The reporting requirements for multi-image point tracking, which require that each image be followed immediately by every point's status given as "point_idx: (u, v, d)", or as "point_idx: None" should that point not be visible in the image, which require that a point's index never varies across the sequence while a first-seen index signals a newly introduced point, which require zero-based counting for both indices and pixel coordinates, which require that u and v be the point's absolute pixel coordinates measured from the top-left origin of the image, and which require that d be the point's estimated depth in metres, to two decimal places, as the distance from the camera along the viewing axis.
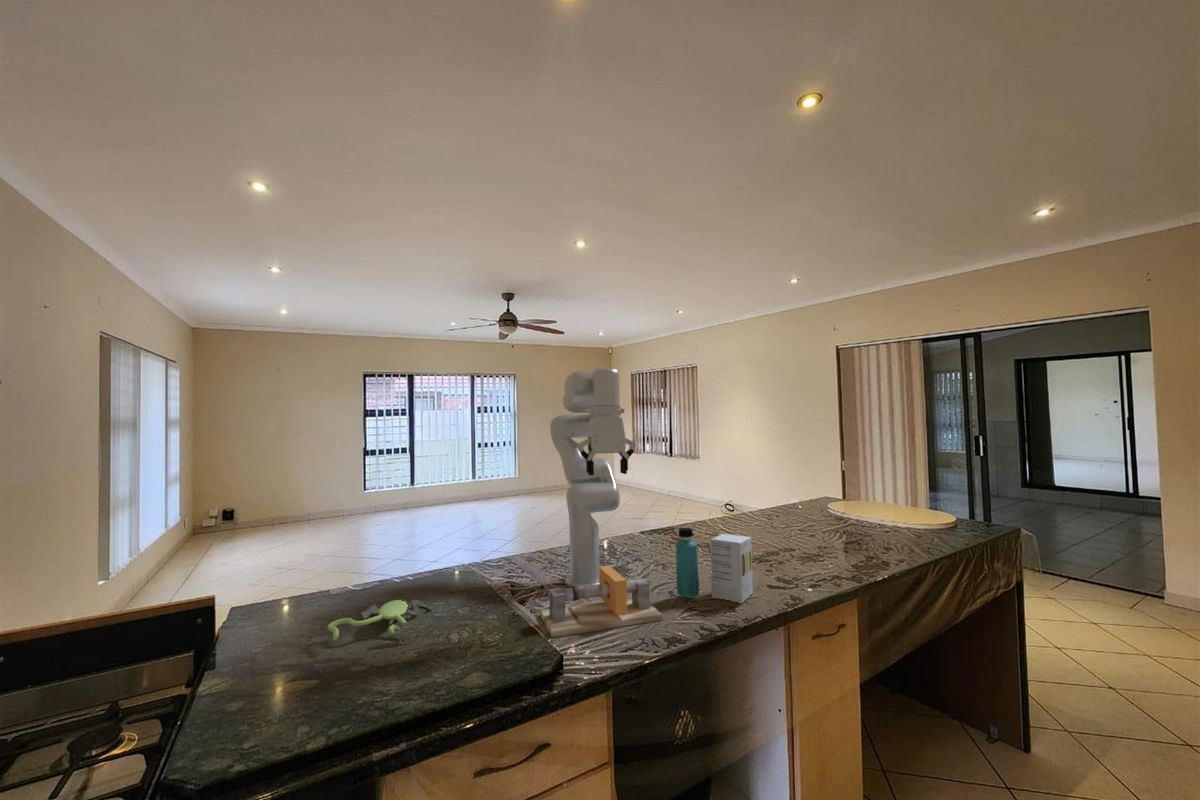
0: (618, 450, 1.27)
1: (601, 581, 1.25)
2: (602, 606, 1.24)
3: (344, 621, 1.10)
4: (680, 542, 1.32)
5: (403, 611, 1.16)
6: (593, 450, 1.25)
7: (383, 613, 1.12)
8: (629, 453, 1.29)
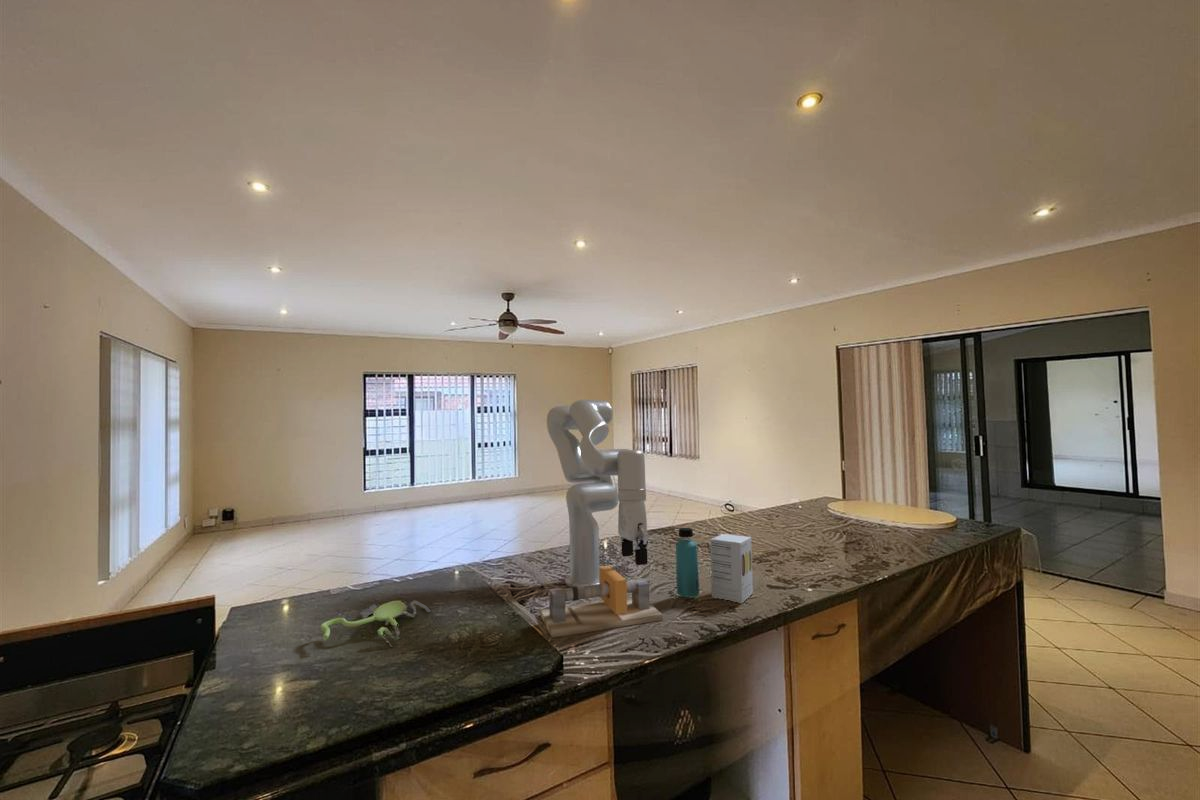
0: None
1: (601, 581, 1.25)
2: (602, 606, 1.24)
3: (338, 621, 1.11)
4: (680, 542, 1.32)
5: (397, 613, 1.15)
6: None
7: (376, 614, 1.12)
8: None
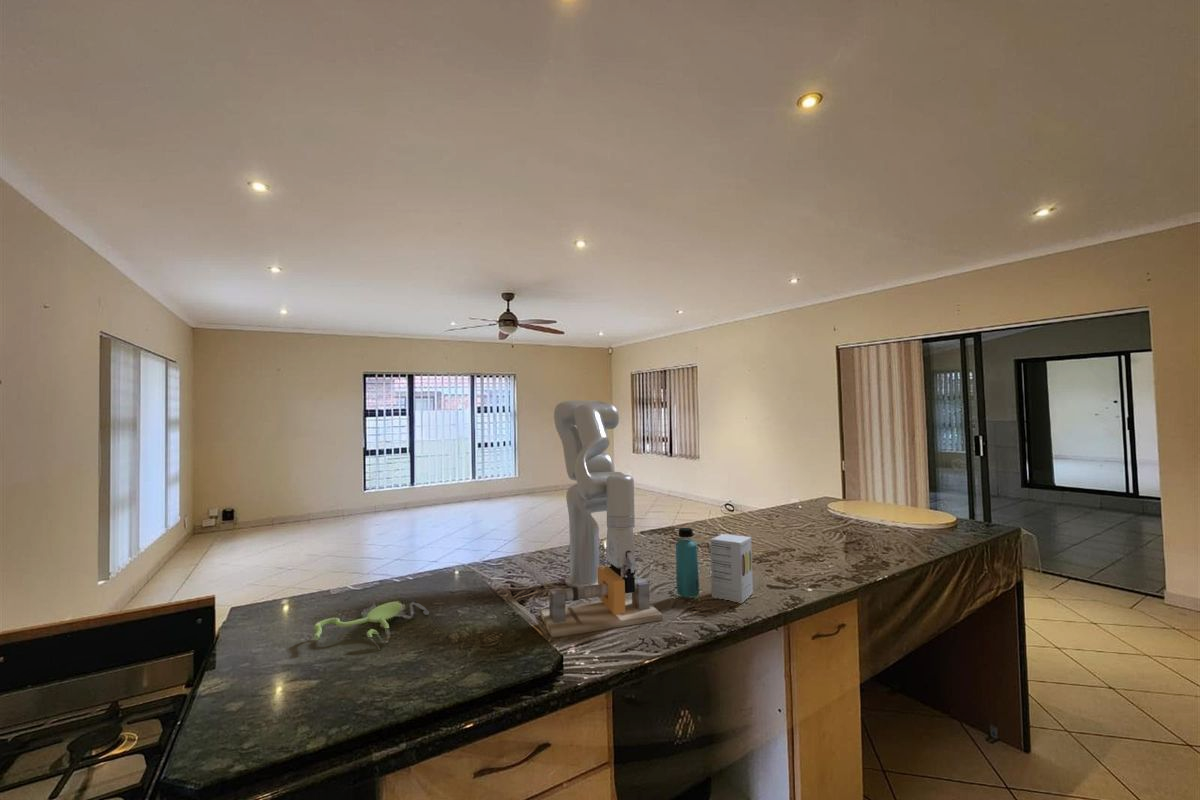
0: None
1: (599, 581, 1.25)
2: (602, 606, 1.24)
3: (333, 621, 1.11)
4: (680, 542, 1.32)
5: (391, 615, 1.14)
6: None
7: (369, 615, 1.11)
8: None
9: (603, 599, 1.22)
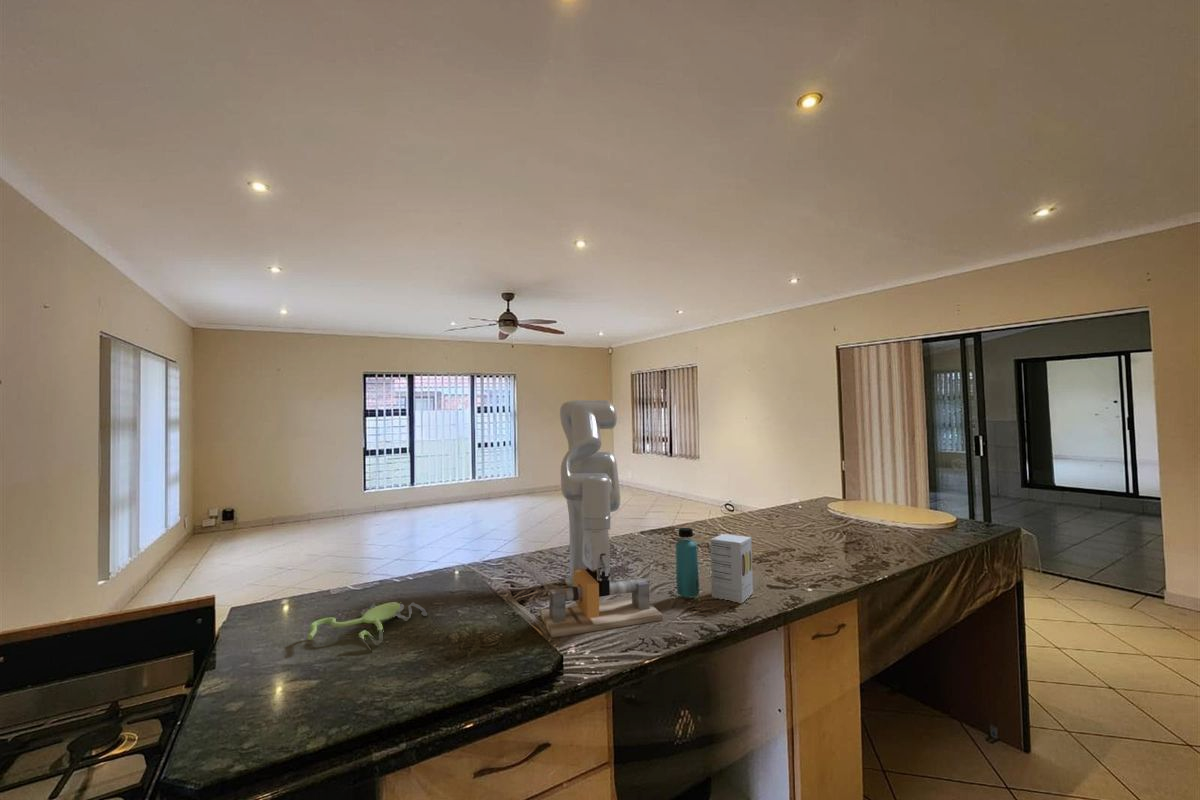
0: None
1: (575, 584, 1.23)
2: (602, 606, 1.24)
3: (329, 620, 1.11)
4: (680, 542, 1.32)
5: (387, 616, 1.13)
6: None
7: (364, 616, 1.11)
8: None
9: (578, 602, 1.20)
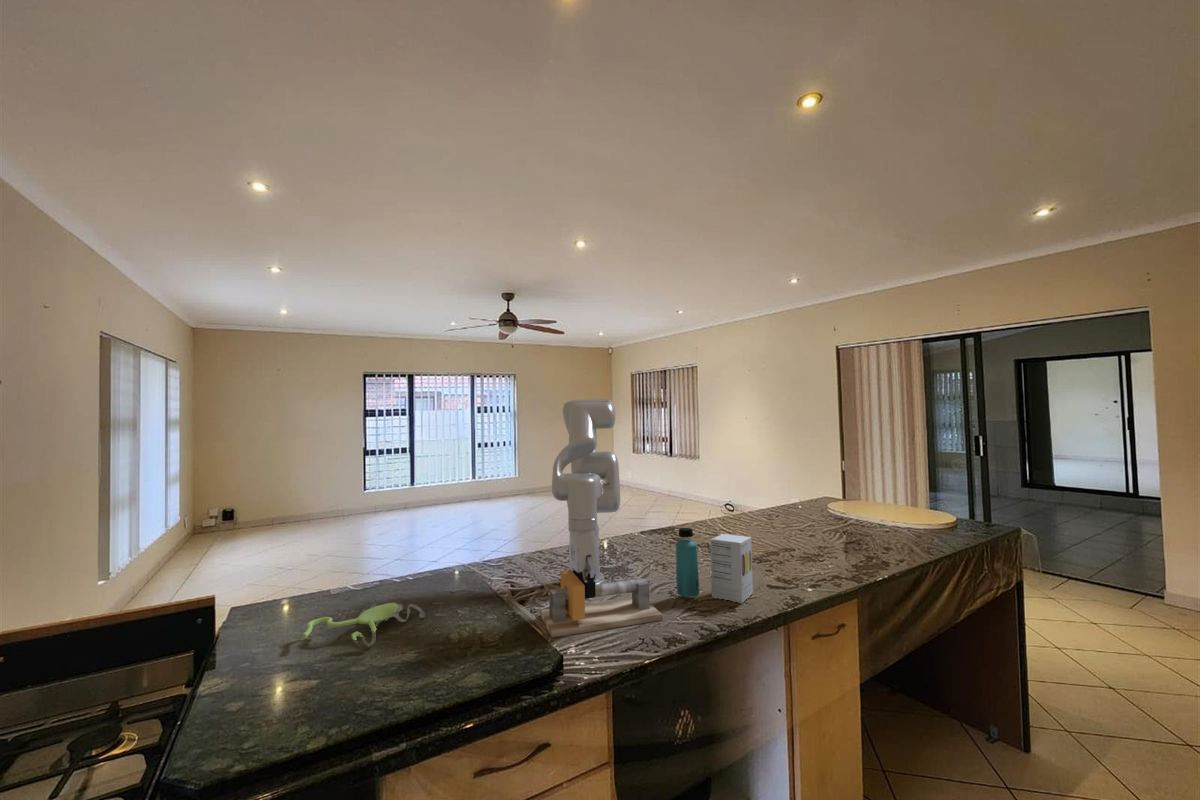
0: None
1: (562, 586, 1.22)
2: (602, 606, 1.24)
3: (326, 620, 1.11)
4: (680, 542, 1.32)
5: (383, 617, 1.13)
6: (595, 568, 1.16)
7: (359, 617, 1.10)
8: None
9: None
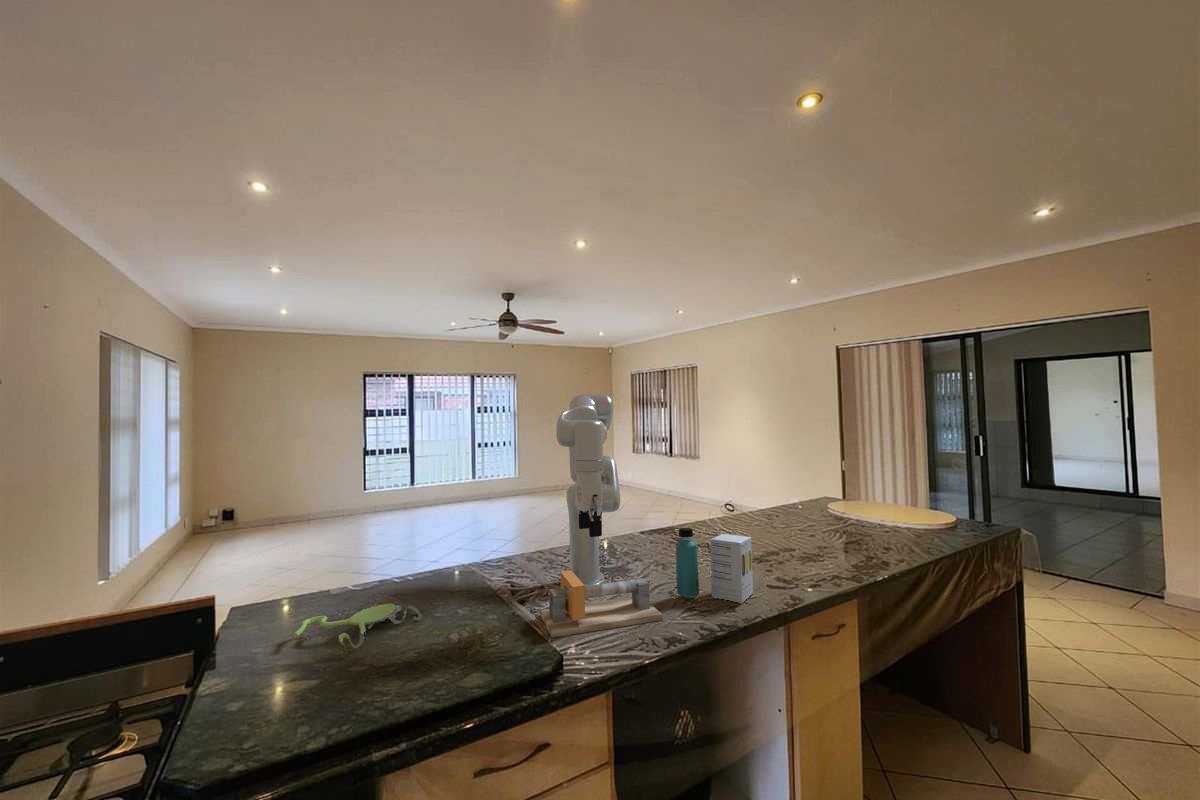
0: None
1: (562, 586, 1.22)
2: (602, 606, 1.24)
3: (321, 619, 1.12)
4: (680, 542, 1.32)
5: (375, 619, 1.12)
6: None
7: (351, 617, 1.10)
8: None
9: None
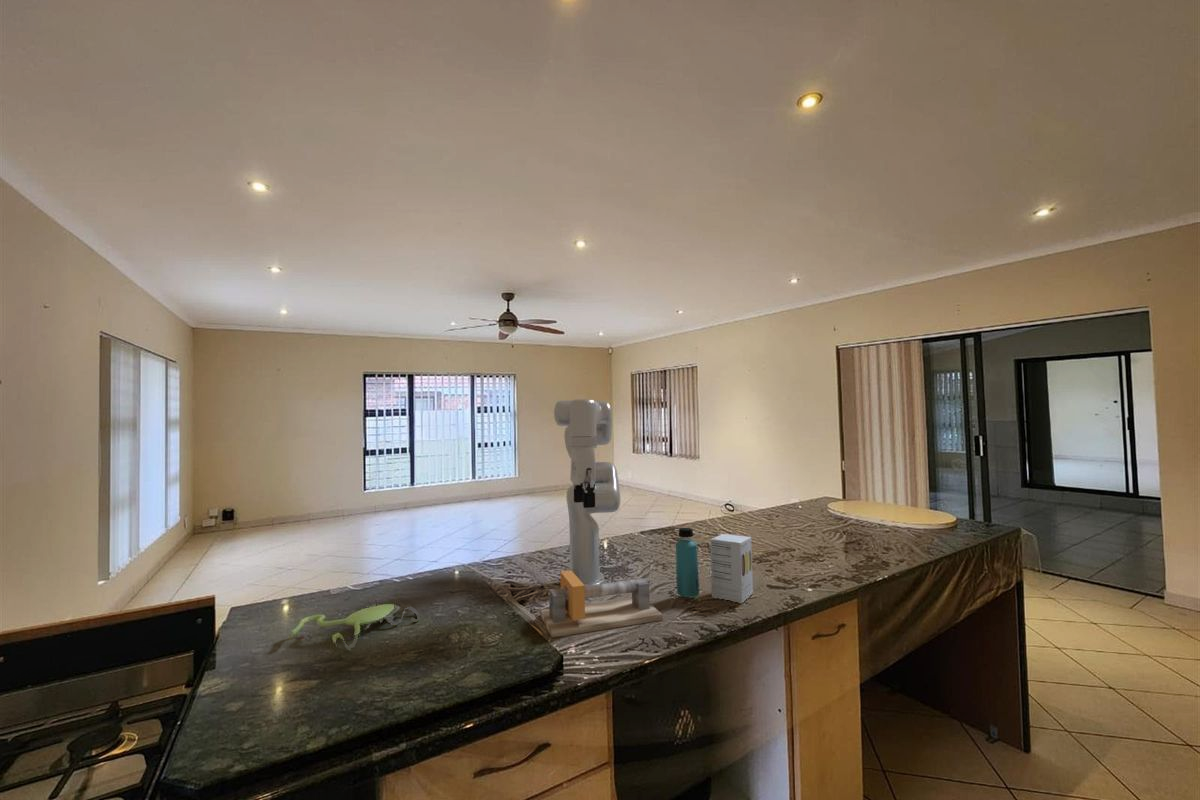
0: None
1: (562, 586, 1.22)
2: (602, 606, 1.24)
3: (320, 618, 1.13)
4: (680, 542, 1.32)
5: (371, 619, 1.12)
6: None
7: (347, 617, 1.10)
8: None
9: None
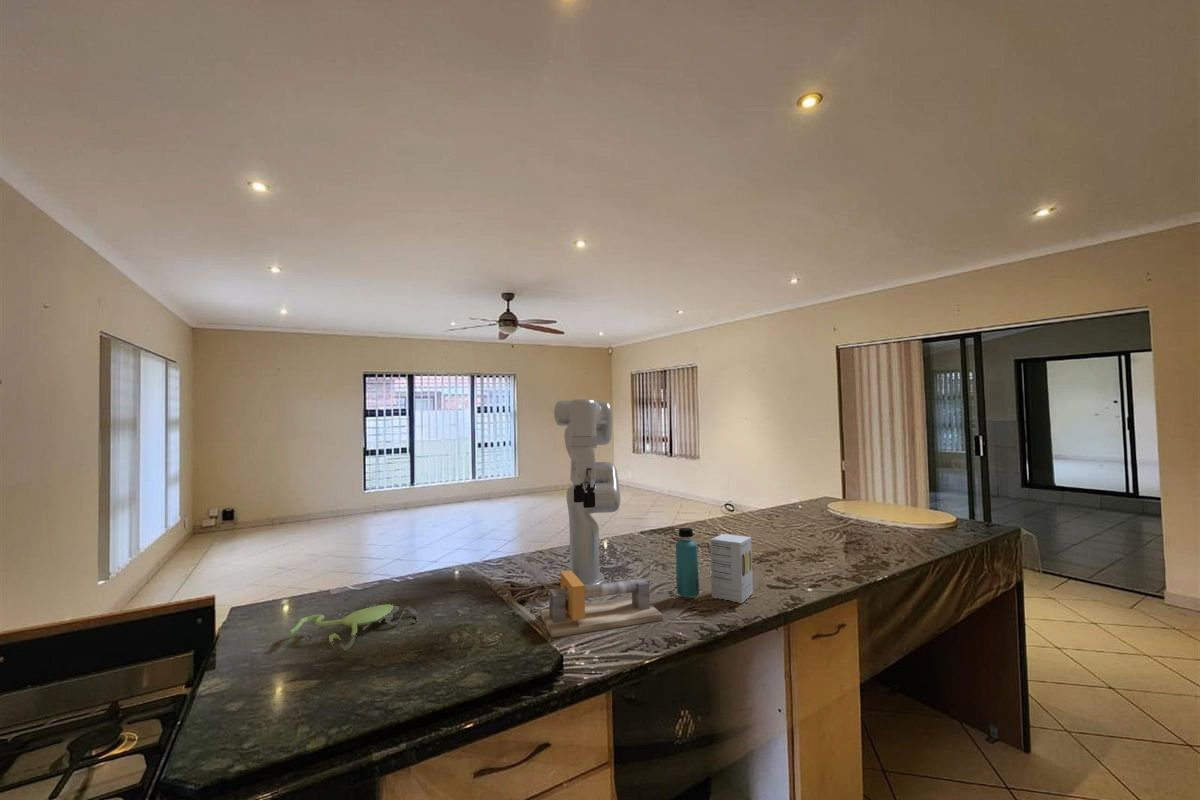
0: None
1: (562, 586, 1.22)
2: (602, 606, 1.24)
3: None
4: (680, 542, 1.32)
5: (368, 620, 1.11)
6: None
7: (345, 617, 1.10)
8: None
9: None
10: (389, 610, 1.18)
